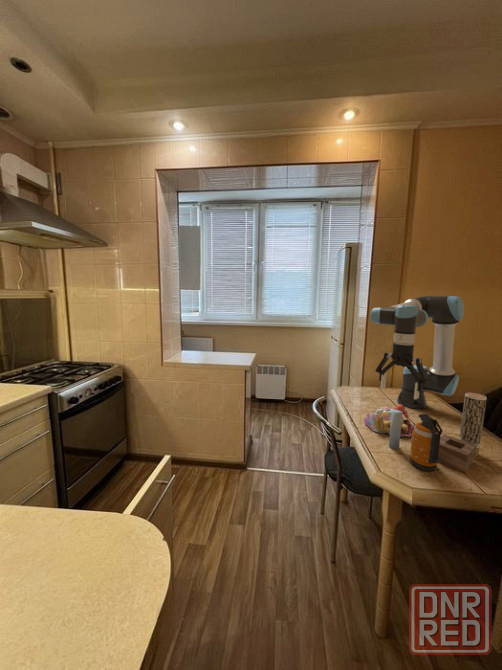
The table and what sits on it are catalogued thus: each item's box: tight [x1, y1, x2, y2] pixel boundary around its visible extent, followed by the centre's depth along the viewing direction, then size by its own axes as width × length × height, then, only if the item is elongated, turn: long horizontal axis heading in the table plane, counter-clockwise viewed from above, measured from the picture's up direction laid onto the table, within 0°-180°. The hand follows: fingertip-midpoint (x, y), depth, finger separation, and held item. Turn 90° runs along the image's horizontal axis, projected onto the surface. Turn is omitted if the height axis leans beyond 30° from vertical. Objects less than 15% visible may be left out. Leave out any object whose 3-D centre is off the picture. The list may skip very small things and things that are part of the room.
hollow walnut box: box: [438, 433, 477, 473], centre depth 111 cm, size 11×11×7 cm
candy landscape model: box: [363, 403, 415, 438], centre depth 140 cm, size 25×24×9 cm
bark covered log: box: [458, 392, 487, 458], centre depth 115 cm, size 7×7×25 cm
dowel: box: [388, 410, 403, 450], centre depth 119 cm, size 4×4×16 cm
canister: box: [409, 413, 444, 472], centre depth 106 cm, size 9×11×20 cm
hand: (398, 393), depth 117 cm, fingers open, 13 cm apart
